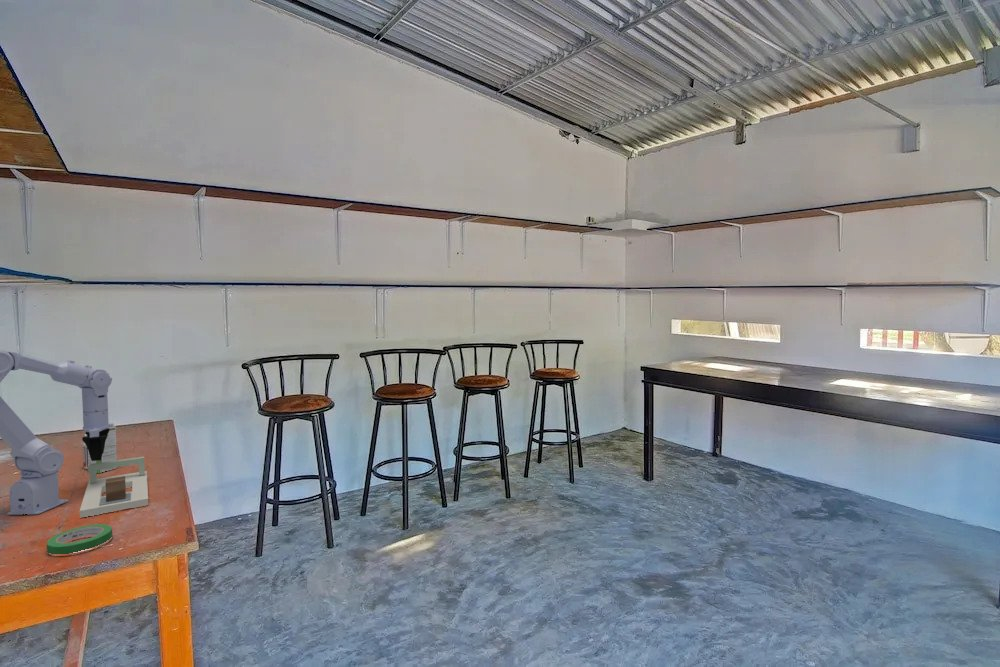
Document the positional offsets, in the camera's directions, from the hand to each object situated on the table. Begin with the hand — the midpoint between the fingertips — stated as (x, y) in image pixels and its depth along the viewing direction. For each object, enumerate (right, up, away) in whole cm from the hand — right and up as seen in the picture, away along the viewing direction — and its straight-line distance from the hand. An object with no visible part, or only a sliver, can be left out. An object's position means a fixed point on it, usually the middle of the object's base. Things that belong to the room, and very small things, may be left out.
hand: (97, 457), depth 148 cm
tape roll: (+25, -11, -36) cm, 45 cm away
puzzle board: (+10, -10, -5) cm, 14 cm away
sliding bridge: (+3, -7, +3) cm, 8 cm away
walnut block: (+16, -7, -14) cm, 22 cm away
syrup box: (-13, -9, +19) cm, 25 cm away
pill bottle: (-19, -9, +23) cm, 31 cm away
